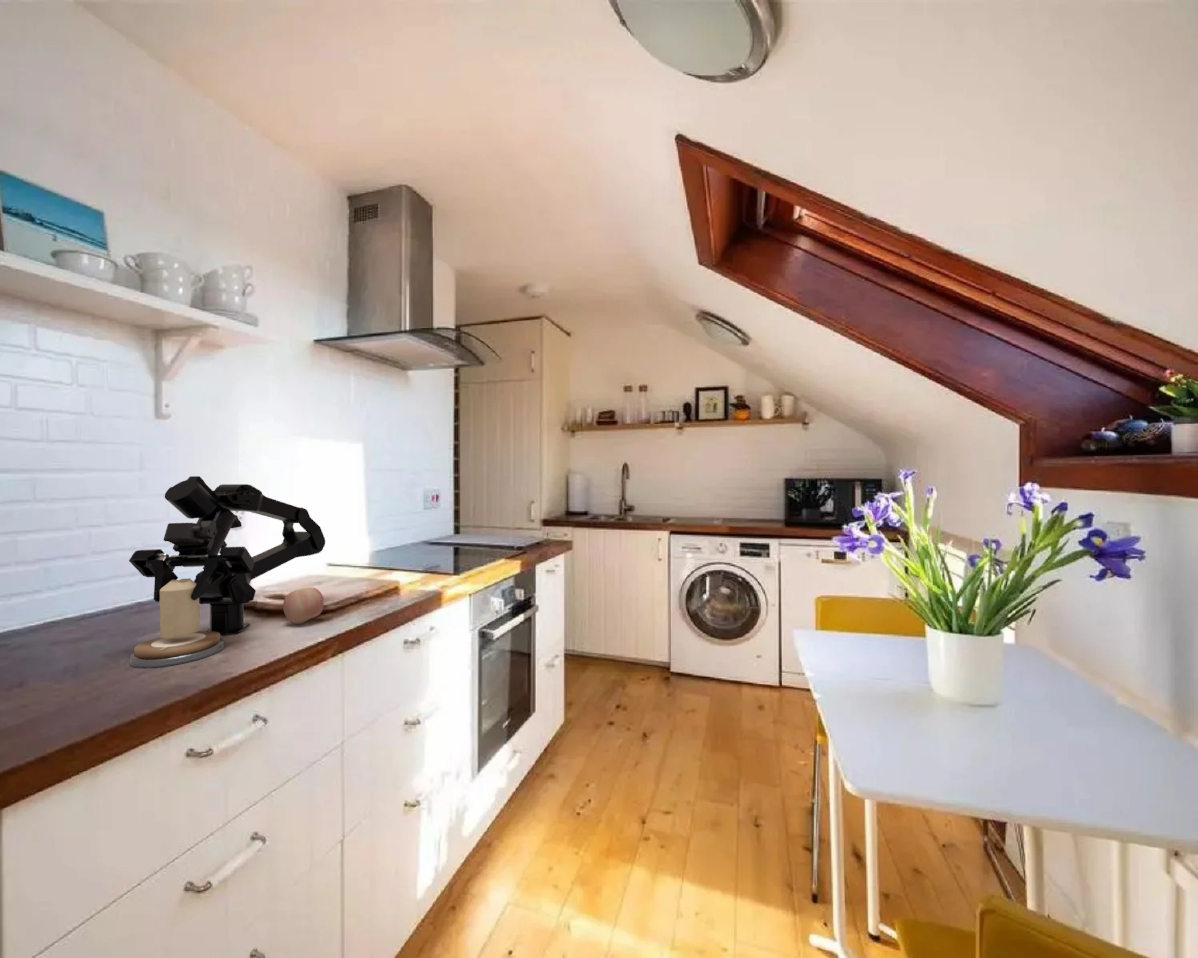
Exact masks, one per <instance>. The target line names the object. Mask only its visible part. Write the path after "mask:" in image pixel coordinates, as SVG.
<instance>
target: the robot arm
mask: <svg viewBox="0 0 1198 958" xmlns="http://www.w3.org/2000/svg"><path fill="white" fill-rule="evenodd" d="M164 499H165V500H166V501H167V502H168V503H170V504H171V505H172V506H173V507H174V508H175V509H177V511H178V512H180V513H181V514H182V515H183V516H184V517H186V518H187V519H197V521H196V523H195V522H171V523H167V526H166V529H165V534H164V536H163V541H164V542H169V543H170V544H173V546H172V550H174V552H176V553H177V552H178V555H174V554H173V555H170V554H167V553H165V552H164V551H163V550H162V549H161V548H160V549H159V548H155V549H153V548H152V549H151V548H150V549H138V550H135V551H134V552H133V553H132V555H131V557H130V558H129V560H128V561H129V563H130V564H132V566H133V567H134V568H135V569H136V570H137V571H138V572H139V573H140V575H142V576H143V577H145V578H154V585H153V586H154V588H153V601H155V602H156V603H160V589H161V588H162V587H163V586H165V585H166V584H168V583H169V582H170V581H171V580H179V577H178V575H176V573H175V572H174V569H175V568H176V567H184V568H195V567H199V568H200V567H202V569H203V570H201V571H200V572H198V573H197V574H196V576H195V578H194V580H193V581H194V582H195V583H197V584H196V586H195V588H194V590H193V592H192V595H191V599H192V600H196V599H198V598H199V605H209V629H208V630H207V631H215V632H218V633H220V636H223V635H232V634H233V635H234V634H239V633H241V632H242V631H243V630H245V629H246V628H248V627H250V626H251V622H245V623H244V604H248V603H249V602H251V601H253V600H254V599H255V596H256V589H255V588H254V586H252V585H251V581H252V580H254V579H257V578H258V577H260V576H262V575H265V574H266V573H268V572H271V571H272V570H274V569H276V568H278V567H279V566H283V564H286V563H288V562H290V561H292V560H293V559H296V558H300V557H309V556H313V555H316V554H320V553H321V552H323V550H324V547H325V546H326V539H325V536H324V533H323V530H322V528H321V526H320V525H319V524H318V523H317V522H316V521H314V520H313V518H312V517H311V516H310V513H309V511H308V509H306V508H304V507H298V506H295V505H293V504H289V503H287V502H284V501H281V500H277V499H274V498H272V497H271V498H270V497H267V496H265V495H264V494H263V492H262V491H261V490H260V489H259V488H256V487H255V486H253V485H252V484H248V483H247V484H246V483H245V484H243V483H242V484H241V483H240V484H238V483H237V484H234V483H233V484H232V483H229V484H227V483H226V484H224V483H223V484H219V485H218V486H217V487H215V489H214V490H213V489H211V488H210V487H209V486H208V485H207V484H206V482H205V480H204V479H203V478H202V477H201V476H199V475H198V476H197V475H196V476H195V475H194V476H189V477H188V478H187V479H185V480H183V481H180V482H178V483H176V484H175V485H173V486H171V487H169V488H168V489H167V490H166V491H165V493H164ZM234 512H249V513H253V514H257V515H260V516H263V517H264V516H265V517H268V518H271V519H275V520H278V521H281V522H282V523H283V529H282V533H281V534H282V537H283V539H282V542H281V543H280V544H278V545H276V546H274V547H271V548H270V549H267V550H265V551H262V552H261V553H258V554H256V555H254V556H251V554H250V552H249V551H248V548H246V547H245V546H228V544H227V542H226V541H225V540H226V538H227V536H228V535H229V532H230V531H231V529H236V528H237V529H238V528H242V522H241V520H239V517H238V515H237V514H234ZM294 524H299V526H300V527H301V528H302V529H303V530H305V531H295V529H294V528H295V527H294Z"/></svg>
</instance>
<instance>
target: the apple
mask: <svg viewBox="0 0 1198 958" xmlns="http://www.w3.org/2000/svg"><path fill="white" fill-rule="evenodd" d="M282 607H283V608H282V609H283V613H284V615H285V617H286V618H287V620H288V621H290V622H291V623H292V624H297V625H302V624H304V623H306V622H307V621H310V620H312V619H313V618H315V617H318V616H319V615H320V614H321V613H322V611H323V610H324V607H325V599H324V596H323V594H322V592H321V591H320V590H319V589H318V588H316V587H313V586H312V587H311V586H310V587H303V588H300V589H299V588H298V589H295V590H292V591H290V592H288V593H287V594H286V596H285V598H284V600H283V603H282Z"/></svg>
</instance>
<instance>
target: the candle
mask: <svg viewBox="0 0 1198 958" xmlns="http://www.w3.org/2000/svg"><path fill="white" fill-rule="evenodd" d="M196 584H197V583H195V582H194V580H192V578H191V577H189V578H180V579H177V580H171V581H170V582H169V583H168V584H166V585H165V586H163V587H162V588H161V589H160V601H159V631H160V637H163V638H173V637H180V636H186V635H190V634H193V633H196V632H198V631H200V621H201V620H200V604H199V598H198V599H196V600H192V599H191V595H192V592H193V590H194V588H195V586H196Z"/></svg>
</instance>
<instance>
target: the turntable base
mask: <svg viewBox="0 0 1198 958" xmlns="http://www.w3.org/2000/svg"><path fill="white" fill-rule="evenodd" d="M224 644H225V641H224V639H223V638H222V637H220V642H219V643H218V644H216V645H214V646H212V647H209V648H207V649H204V650H201V651H197V652H193V653H189V654H184V655H179V656H173V657H166V658H156V659H142V658H137V657H135V656H134V652H133V653H131V655H130V657H129V665H130V666H131V667H133V668H139V669H154V668H155V669H157V668H164V667H172V666H177V665H181V664H186V663H191V662H195V661H199V660H202V659H206V658H208V657H211V656H213V655H215V654H216V655H217V653H219V652H221V651H222V650H223V649H224V647H225V646H224Z"/></svg>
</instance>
